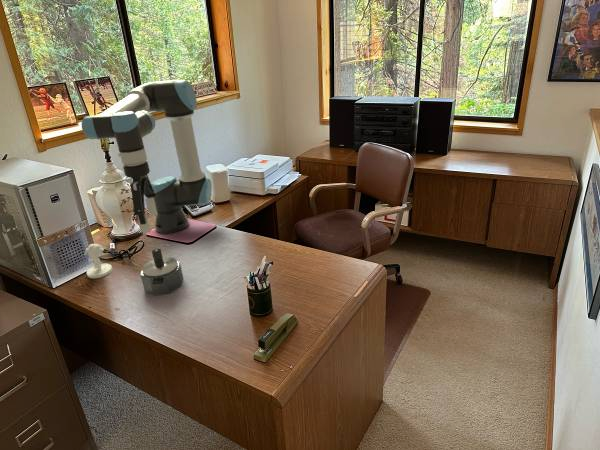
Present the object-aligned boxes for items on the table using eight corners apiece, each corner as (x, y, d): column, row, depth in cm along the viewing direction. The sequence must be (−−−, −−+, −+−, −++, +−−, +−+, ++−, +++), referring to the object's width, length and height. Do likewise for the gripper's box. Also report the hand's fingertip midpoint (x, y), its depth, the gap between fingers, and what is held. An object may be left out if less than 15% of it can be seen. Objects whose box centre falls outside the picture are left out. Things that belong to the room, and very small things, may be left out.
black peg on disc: (146, 261, 157) (142, 244, 154) (179, 257, 158) (175, 240, 155) (139, 279, 146) (134, 261, 143) (175, 274, 147) (171, 256, 144)
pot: (150, 275, 161) (146, 259, 158) (184, 271, 162) (181, 255, 159) (141, 299, 147) (137, 282, 144) (180, 294, 148) (176, 277, 145)
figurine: (82, 275, 165) (72, 248, 160) (101, 264, 172) (93, 237, 167) (98, 280, 161) (89, 252, 156) (117, 268, 168) (109, 241, 163)
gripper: (131, 153, 146) (145, 210, 155) (112, 176, 124) (130, 241, 133) (153, 150, 147) (166, 207, 156) (139, 173, 125) (155, 238, 134)
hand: (150, 223), depth 145 cm, fingers open, 13 cm apart
